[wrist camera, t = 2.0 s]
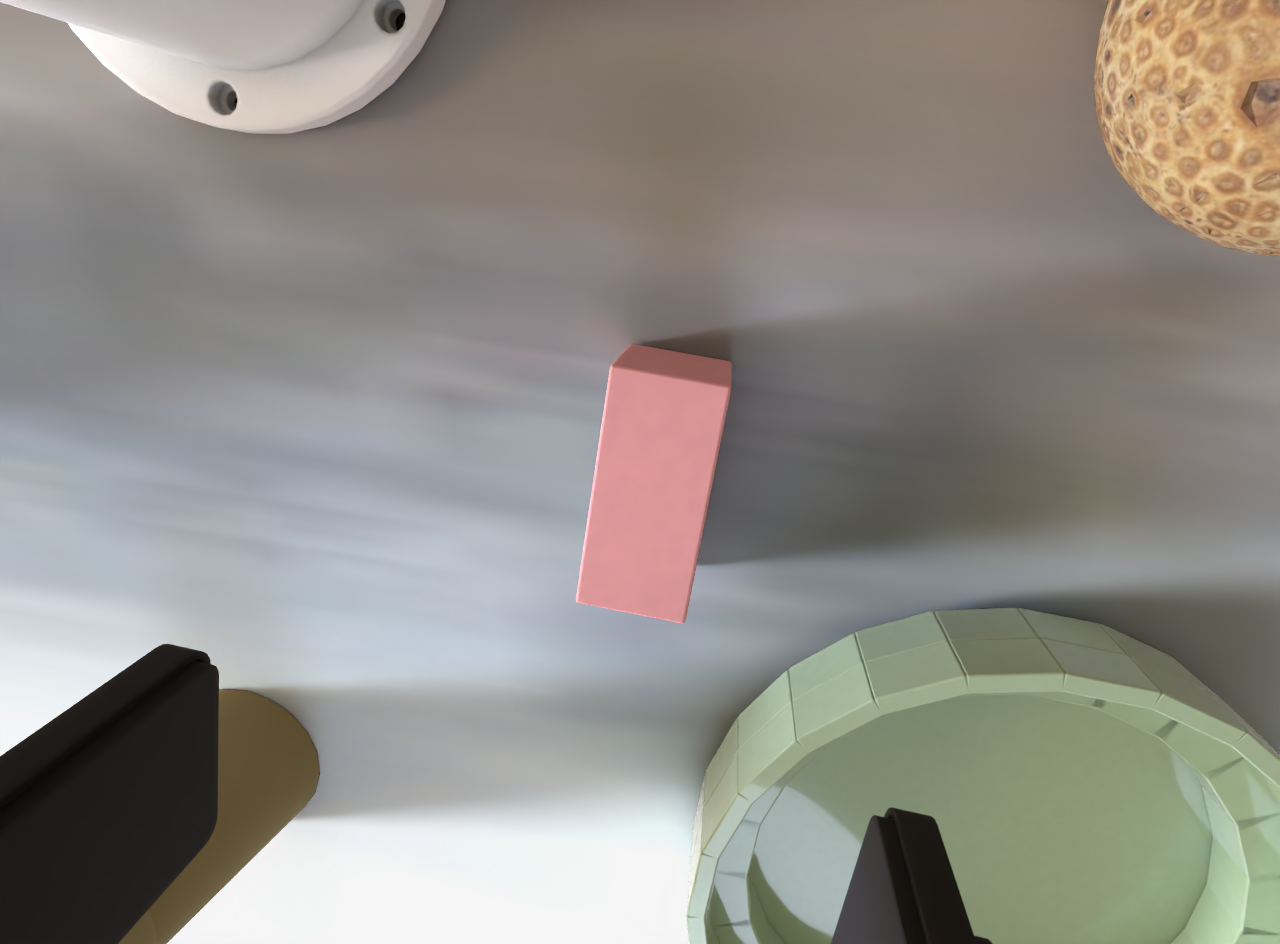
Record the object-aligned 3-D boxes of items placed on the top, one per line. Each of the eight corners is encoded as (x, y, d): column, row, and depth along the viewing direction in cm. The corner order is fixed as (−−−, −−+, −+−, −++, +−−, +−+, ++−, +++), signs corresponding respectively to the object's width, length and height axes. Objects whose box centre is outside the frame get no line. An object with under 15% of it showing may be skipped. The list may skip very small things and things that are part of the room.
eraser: (629, 342, 24) (609, 364, 21) (732, 361, 24) (732, 385, 20) (598, 549, 26) (574, 603, 23) (692, 567, 26) (684, 625, 22)
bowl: (752, 547, 26) (755, 611, 22) (1363, 665, 25) (1494, 757, 20) (656, 982, 32) (644, 1099, 27) (1145, 1094, 31) (1211, 1235, 26)
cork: (323, 708, 30) (98, 968, 19) (316, 836, 32) (108, 1136, 21) (171, 673, 30) (-130, 911, 20) (173, 802, 32) (-101, 1080, 22)
